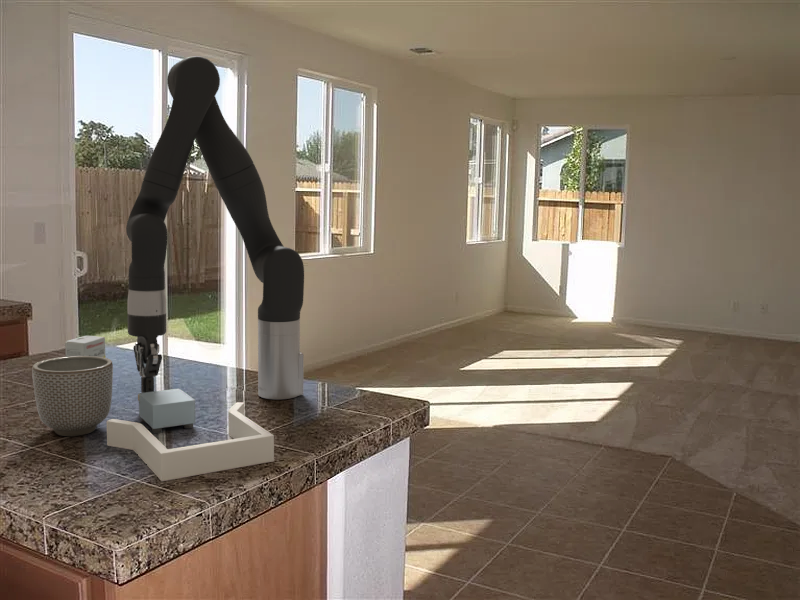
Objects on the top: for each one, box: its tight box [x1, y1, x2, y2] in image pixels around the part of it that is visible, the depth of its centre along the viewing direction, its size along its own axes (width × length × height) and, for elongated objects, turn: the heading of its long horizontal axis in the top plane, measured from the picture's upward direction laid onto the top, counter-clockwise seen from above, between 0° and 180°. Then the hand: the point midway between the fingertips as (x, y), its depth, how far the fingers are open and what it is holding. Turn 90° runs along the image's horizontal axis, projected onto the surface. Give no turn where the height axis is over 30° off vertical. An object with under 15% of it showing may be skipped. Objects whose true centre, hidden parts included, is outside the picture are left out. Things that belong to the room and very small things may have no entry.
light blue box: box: [137, 388, 196, 434], centre depth 154 cm, size 8×10×6 cm
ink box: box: [64, 335, 107, 358], centre depth 177 cm, size 9×5×12 cm, turn 168°
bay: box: [106, 401, 275, 482], centre depth 139 cm, size 26×23×4 cm
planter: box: [31, 356, 114, 437], centre depth 148 cm, size 14×14×13 cm
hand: (147, 394), depth 164 cm, fingers closed
